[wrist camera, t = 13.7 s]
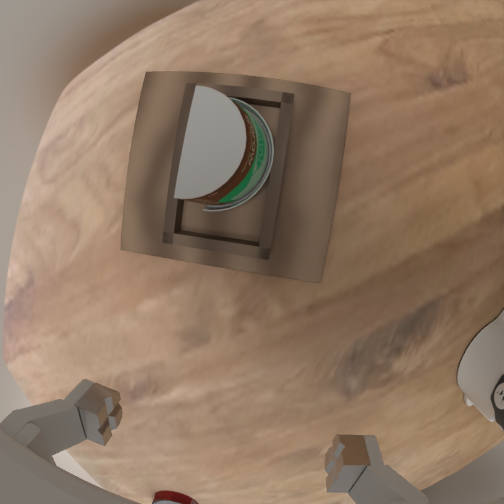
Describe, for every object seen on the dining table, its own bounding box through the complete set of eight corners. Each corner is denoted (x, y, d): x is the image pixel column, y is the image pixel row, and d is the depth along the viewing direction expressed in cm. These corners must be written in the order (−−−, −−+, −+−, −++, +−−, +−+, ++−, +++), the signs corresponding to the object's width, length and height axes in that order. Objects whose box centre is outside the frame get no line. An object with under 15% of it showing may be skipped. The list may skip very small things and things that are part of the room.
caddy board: (348, 95, 31) (356, 86, 27) (318, 280, 35) (323, 290, 32) (148, 74, 31) (137, 65, 28) (124, 248, 36) (111, 254, 33)
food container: (276, 75, 20) (285, 108, 30) (200, 68, 21) (229, 101, 31) (245, 232, 23) (263, 220, 33) (170, 216, 24) (209, 209, 33)
